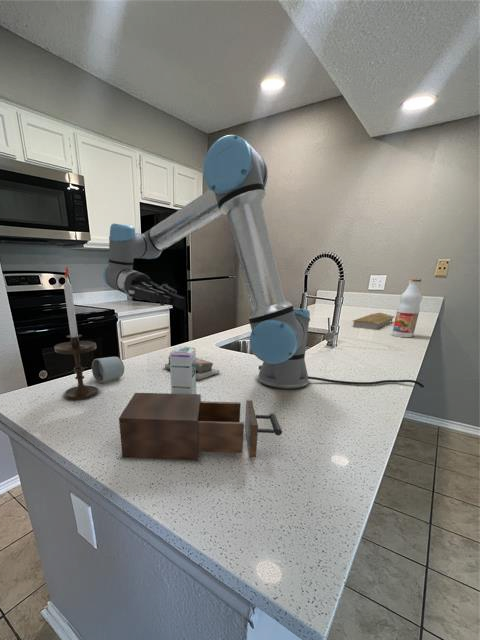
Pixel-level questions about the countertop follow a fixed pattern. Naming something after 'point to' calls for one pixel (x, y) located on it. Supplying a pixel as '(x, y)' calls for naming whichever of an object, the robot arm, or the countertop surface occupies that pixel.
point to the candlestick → (75, 349)
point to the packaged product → (201, 368)
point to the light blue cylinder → (107, 369)
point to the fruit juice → (408, 310)
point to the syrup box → (183, 370)
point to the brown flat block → (373, 321)
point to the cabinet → (160, 426)
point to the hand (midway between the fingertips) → (182, 303)
